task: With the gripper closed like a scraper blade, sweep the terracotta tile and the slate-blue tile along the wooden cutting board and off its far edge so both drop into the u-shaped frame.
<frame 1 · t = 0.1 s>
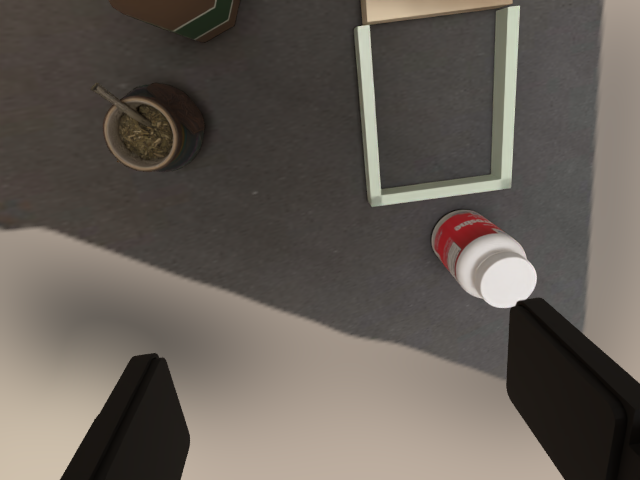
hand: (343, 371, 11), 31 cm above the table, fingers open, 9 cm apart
mate gourd: (168, 123, 38), on the table
u-shaped frame: (432, 111, 39), on the table
pill bottle: (457, 235, 44), on the table
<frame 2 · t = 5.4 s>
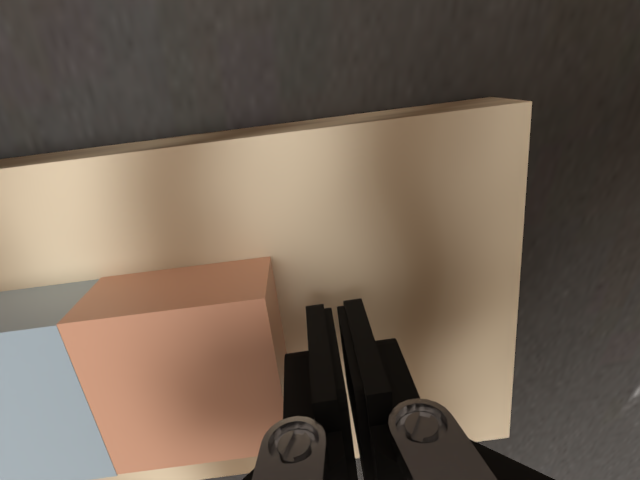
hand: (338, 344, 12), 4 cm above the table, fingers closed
wooden cutting board: (233, 297, 16), on the table
terracotta tile: (204, 337, 13), point 3 cm above the table, touching wooden cutting board, gripper
slate tile: (46, 359, 13), point 3 cm above the table, touching wooden cutting board
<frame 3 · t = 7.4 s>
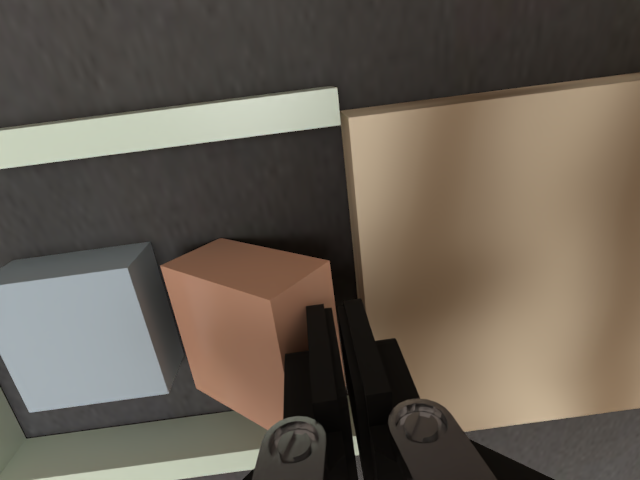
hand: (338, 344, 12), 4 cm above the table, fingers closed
wooden cutting board: (600, 241, 16), on the table
terracotta tile: (281, 313, 15), point 2 cm above the table, tilted 41°, touching gripper
slate tile: (75, 345, 14), point 2 cm above the table, tilted 180°
u-shaped frame: (146, 300, 16), on the table
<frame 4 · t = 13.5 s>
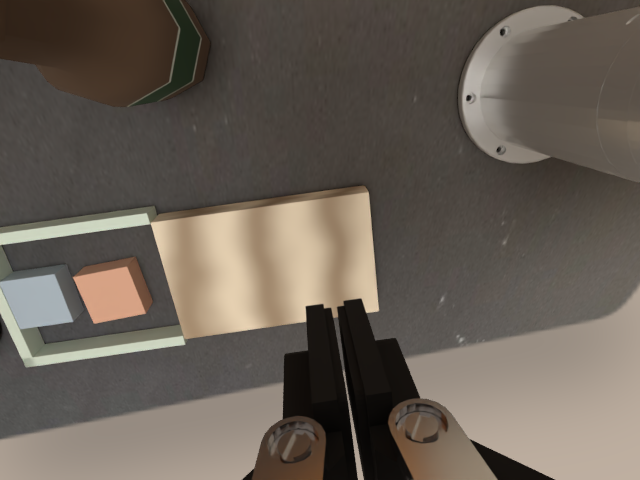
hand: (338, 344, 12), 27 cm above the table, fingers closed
wooden cutting board: (272, 258, 41), on the table
terracotta tile: (120, 283, 41), on the table
beer bottle: (164, 47, 34), on the table
slate tile: (36, 302, 38), point 2 cm above the table, tilted 180°
u-shaped frame: (93, 284, 40), on the table
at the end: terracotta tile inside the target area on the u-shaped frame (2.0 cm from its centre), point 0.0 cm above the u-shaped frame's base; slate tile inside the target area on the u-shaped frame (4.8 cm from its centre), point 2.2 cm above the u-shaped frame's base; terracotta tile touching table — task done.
